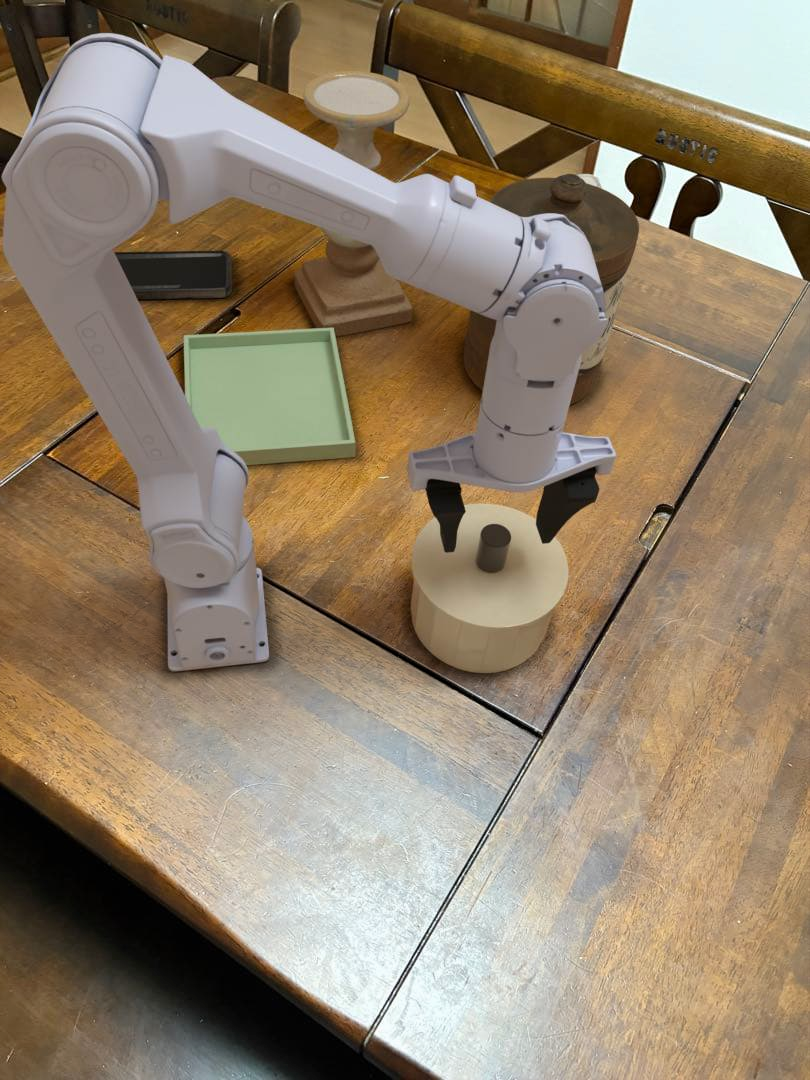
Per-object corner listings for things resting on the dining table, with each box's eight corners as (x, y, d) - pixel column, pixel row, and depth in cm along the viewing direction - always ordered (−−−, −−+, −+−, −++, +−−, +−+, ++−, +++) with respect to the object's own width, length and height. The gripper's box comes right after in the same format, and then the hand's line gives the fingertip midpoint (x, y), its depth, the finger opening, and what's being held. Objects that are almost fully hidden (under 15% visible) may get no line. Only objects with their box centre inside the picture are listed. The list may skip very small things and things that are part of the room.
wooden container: (582, 426, 95) (637, 237, 78) (446, 389, 97) (470, 197, 80) (608, 343, 104) (663, 158, 87) (483, 311, 106) (513, 124, 89)
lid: (585, 626, 71) (598, 592, 67) (425, 643, 69) (430, 609, 65) (543, 505, 79) (552, 470, 75) (398, 518, 77) (401, 482, 73)
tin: (561, 665, 76) (579, 617, 70) (424, 680, 74) (431, 633, 69) (526, 556, 83) (540, 506, 78) (401, 568, 81) (406, 517, 76)
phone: (100, 252, 107) (230, 250, 109) (102, 260, 108) (231, 258, 110) (94, 292, 102) (230, 289, 104) (96, 301, 103) (231, 298, 105)
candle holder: (413, 321, 104) (431, 112, 86) (322, 339, 101) (320, 126, 83) (379, 268, 110) (389, 62, 92) (292, 283, 107) (284, 74, 89)
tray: (355, 457, 90) (355, 442, 88) (188, 469, 87) (186, 454, 86) (333, 342, 101) (333, 327, 99) (185, 350, 98) (183, 335, 97)
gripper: (610, 360, 64) (570, 492, 74) (405, 372, 61) (394, 507, 72) (643, 429, 59) (596, 560, 70) (424, 446, 57) (409, 578, 68)
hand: (495, 538), depth 71 cm, fingers open, 7 cm apart
